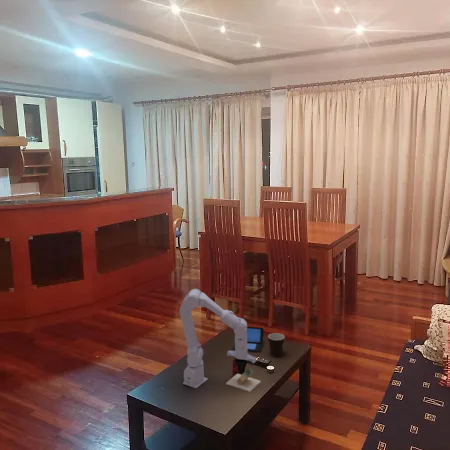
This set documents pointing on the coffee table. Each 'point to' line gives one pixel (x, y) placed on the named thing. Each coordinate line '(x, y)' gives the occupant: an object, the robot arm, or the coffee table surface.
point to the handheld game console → (254, 339)
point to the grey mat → (246, 385)
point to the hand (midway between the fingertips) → (241, 373)
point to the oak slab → (244, 376)
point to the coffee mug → (276, 344)
